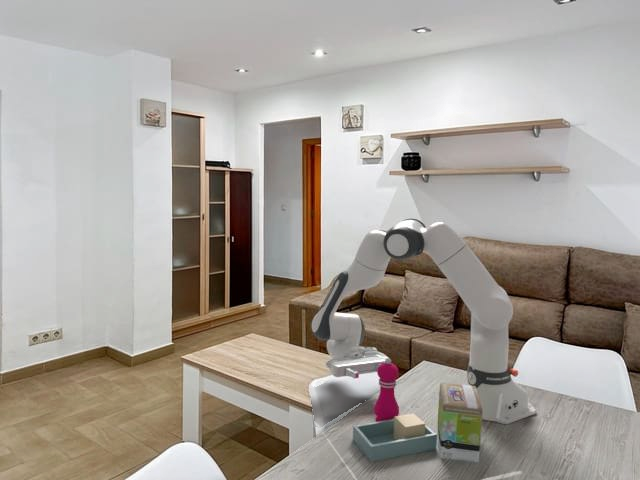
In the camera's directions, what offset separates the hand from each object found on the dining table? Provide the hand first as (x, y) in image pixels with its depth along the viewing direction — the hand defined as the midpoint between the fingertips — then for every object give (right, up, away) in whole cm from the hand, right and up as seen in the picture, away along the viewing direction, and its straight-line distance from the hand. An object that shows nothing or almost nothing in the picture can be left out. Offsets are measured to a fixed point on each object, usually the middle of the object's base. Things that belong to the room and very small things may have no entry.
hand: (370, 374), depth 146 cm
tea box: (+21, -14, -20) cm, 32 cm away
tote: (+4, -13, -21) cm, 25 cm away
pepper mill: (+3, -12, -9) cm, 16 cm away
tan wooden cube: (+8, -13, -19) cm, 24 cm away
